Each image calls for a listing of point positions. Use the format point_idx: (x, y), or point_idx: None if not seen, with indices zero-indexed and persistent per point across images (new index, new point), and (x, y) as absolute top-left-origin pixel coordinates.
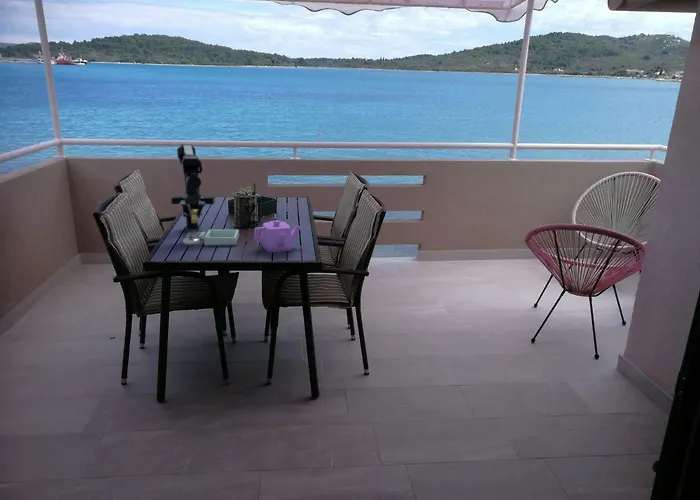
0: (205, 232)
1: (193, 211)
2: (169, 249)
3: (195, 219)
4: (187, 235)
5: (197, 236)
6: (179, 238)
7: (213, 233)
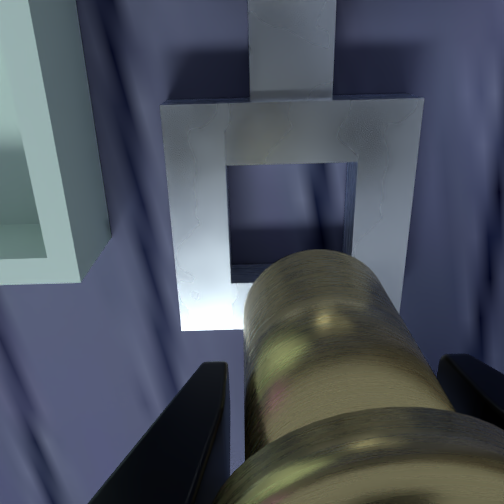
0: (181, 321)
1: (417, 470)
2: None
3: (298, 300)
4: (402, 150)
5: (240, 103)
6: (500, 145)
7: (30, 236)
